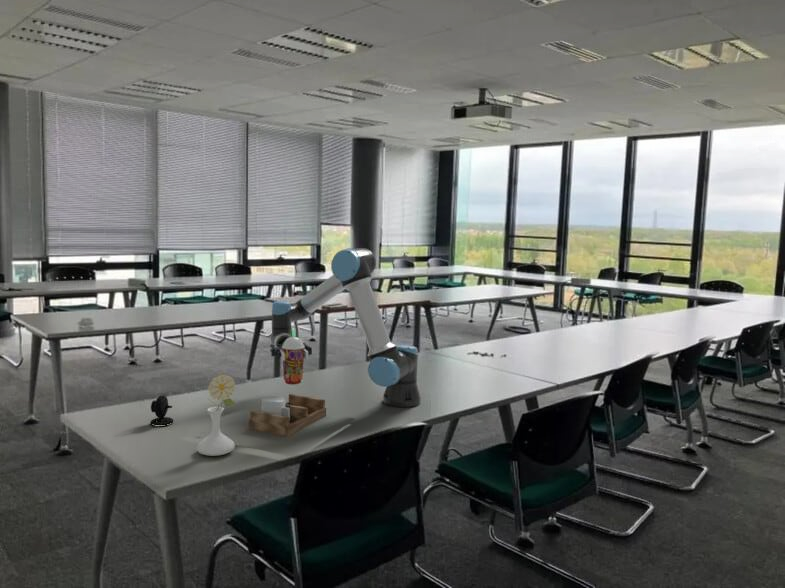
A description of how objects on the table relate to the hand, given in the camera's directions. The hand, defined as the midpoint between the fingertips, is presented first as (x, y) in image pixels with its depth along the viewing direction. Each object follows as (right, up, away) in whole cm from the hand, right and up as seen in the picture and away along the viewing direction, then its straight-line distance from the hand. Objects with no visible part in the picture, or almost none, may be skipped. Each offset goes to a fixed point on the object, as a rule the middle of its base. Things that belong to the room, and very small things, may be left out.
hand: (295, 356), depth 225 cm
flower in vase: (-19, -27, -32) cm, 46 cm away
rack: (-1, -24, -7) cm, 25 cm away
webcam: (-46, -23, -7) cm, 52 cm away
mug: (-5, -23, -11) cm, 26 cm away
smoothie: (-2, -11, +6) cm, 12 cm away
